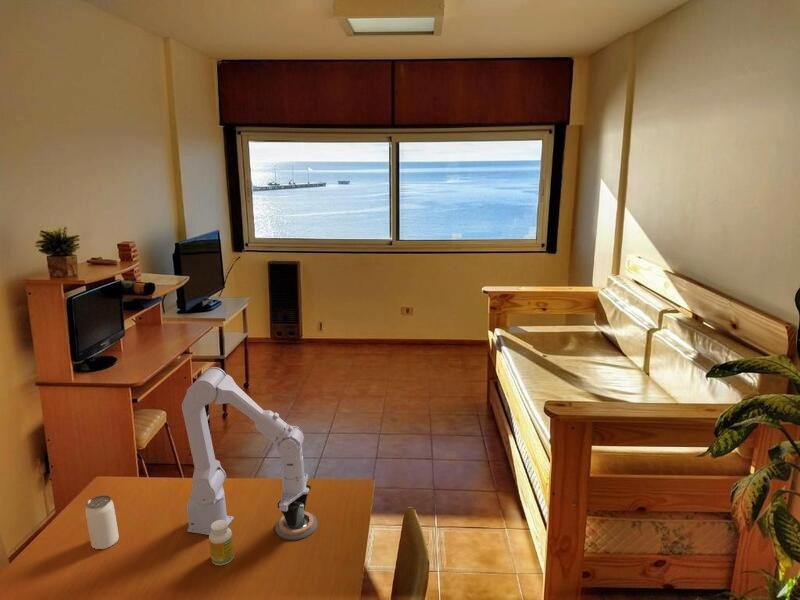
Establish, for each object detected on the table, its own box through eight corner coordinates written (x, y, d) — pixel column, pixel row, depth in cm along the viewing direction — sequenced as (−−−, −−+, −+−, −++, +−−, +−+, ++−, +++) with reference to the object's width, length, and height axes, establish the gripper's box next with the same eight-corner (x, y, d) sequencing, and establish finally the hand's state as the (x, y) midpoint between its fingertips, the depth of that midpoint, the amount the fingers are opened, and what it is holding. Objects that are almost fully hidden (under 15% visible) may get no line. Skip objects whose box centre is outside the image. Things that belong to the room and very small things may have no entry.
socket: (268, 536, 151) (268, 531, 150) (285, 511, 161) (285, 506, 160) (308, 542, 148) (307, 537, 148) (323, 516, 158) (322, 511, 158)
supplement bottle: (227, 567, 140) (224, 533, 137) (207, 564, 141) (203, 530, 138) (238, 552, 145) (234, 519, 142) (218, 549, 146) (214, 516, 143)
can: (124, 537, 151) (118, 497, 147) (103, 553, 145) (96, 512, 142) (107, 531, 153) (100, 491, 150) (85, 546, 148) (78, 505, 144)
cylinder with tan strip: (285, 528, 153) (283, 508, 151) (291, 517, 157) (289, 498, 155) (301, 529, 152) (300, 510, 150) (307, 519, 156) (306, 500, 154)
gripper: (296, 491, 143) (299, 538, 146) (317, 460, 156) (319, 504, 160) (270, 487, 144) (273, 534, 148) (293, 457, 158) (296, 501, 161)
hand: (296, 518), depth 154 cm, fingers open, 5 cm apart
